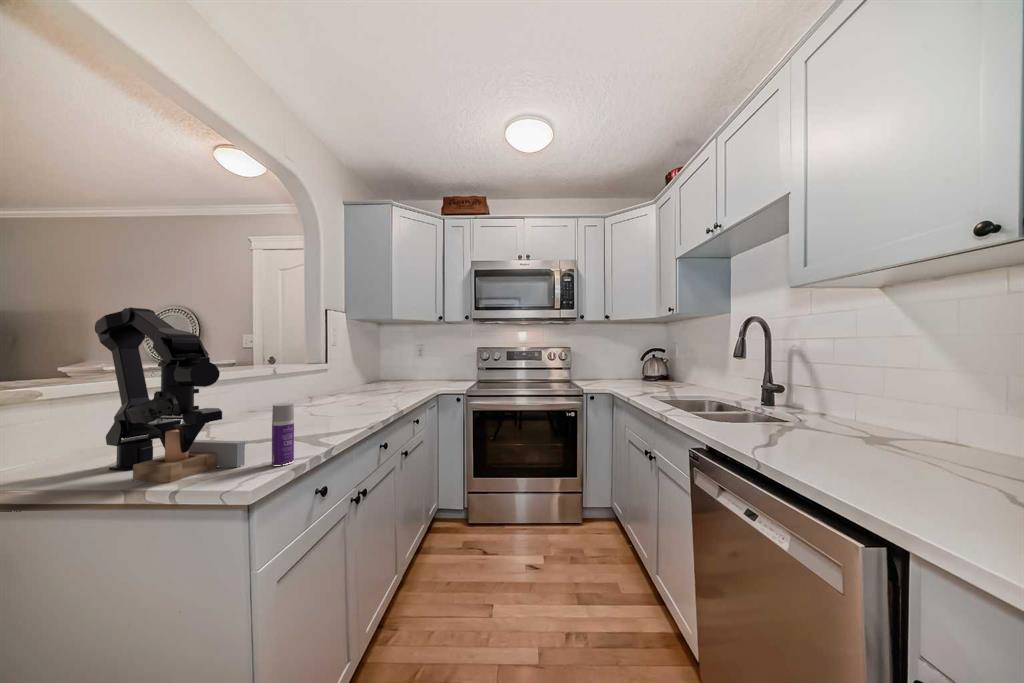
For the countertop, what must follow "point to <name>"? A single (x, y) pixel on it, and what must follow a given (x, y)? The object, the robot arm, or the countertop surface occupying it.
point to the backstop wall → (222, 451)
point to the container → (282, 433)
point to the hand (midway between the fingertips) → (176, 452)
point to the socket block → (173, 468)
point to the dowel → (173, 447)
